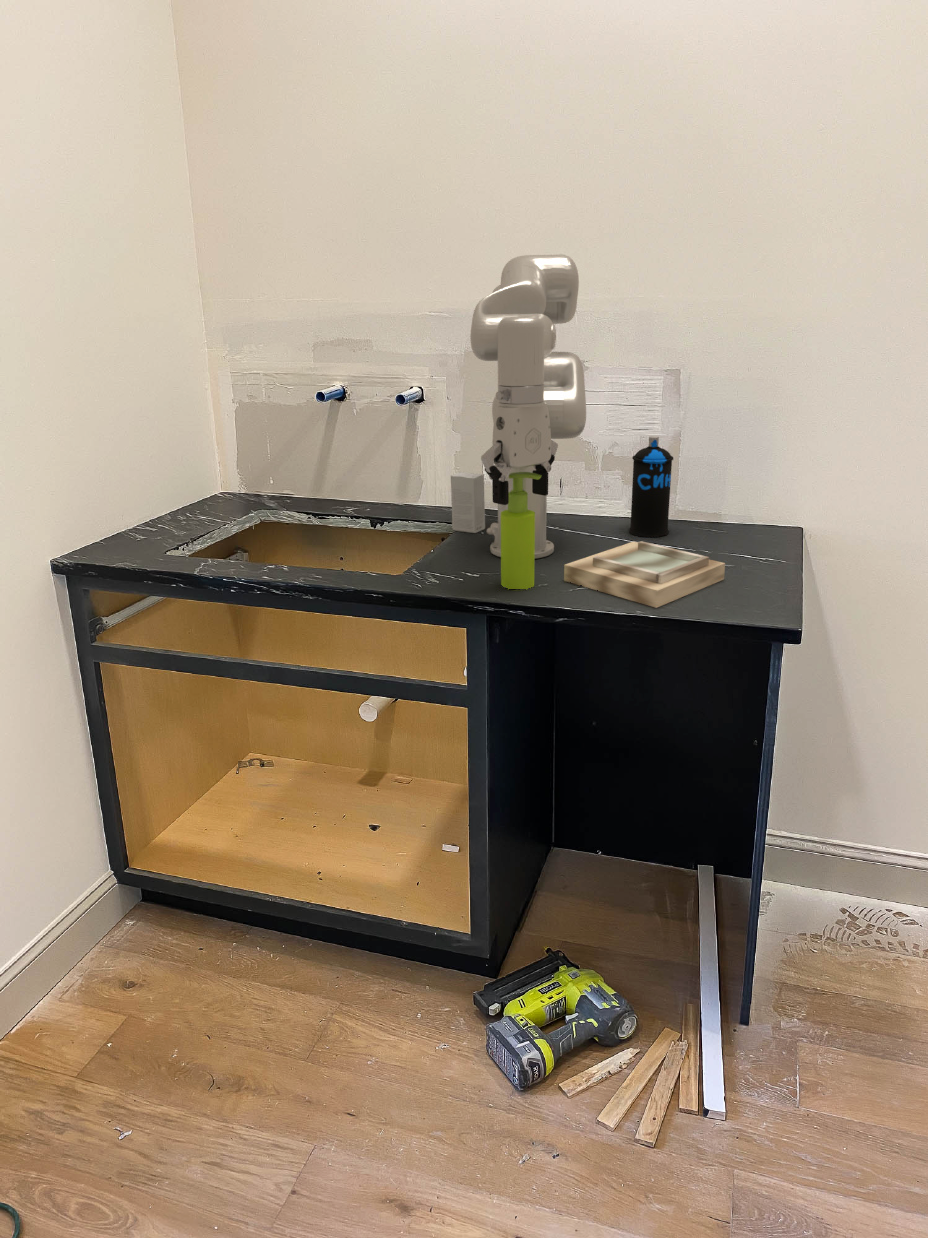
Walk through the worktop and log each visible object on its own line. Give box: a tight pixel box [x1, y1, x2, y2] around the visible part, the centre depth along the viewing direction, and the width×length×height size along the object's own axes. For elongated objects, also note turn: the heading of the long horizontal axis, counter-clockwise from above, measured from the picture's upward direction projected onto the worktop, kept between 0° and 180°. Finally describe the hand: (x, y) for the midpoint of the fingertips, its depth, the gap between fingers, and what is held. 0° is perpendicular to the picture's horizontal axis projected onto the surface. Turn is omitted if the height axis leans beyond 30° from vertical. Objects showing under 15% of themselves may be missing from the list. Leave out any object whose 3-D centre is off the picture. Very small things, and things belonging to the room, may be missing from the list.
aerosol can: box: [628, 435, 674, 538], centre depth 185 cm, size 8×8×20 cm
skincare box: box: [450, 471, 486, 534], centre depth 192 cm, size 6×4×12 cm
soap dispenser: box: [500, 472, 542, 590], centre depth 156 cm, size 6×7×20 cm
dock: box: [563, 540, 726, 609], centre depth 159 cm, size 20×20×4 cm
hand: (520, 498), depth 153 cm, fingers open, 9 cm apart
